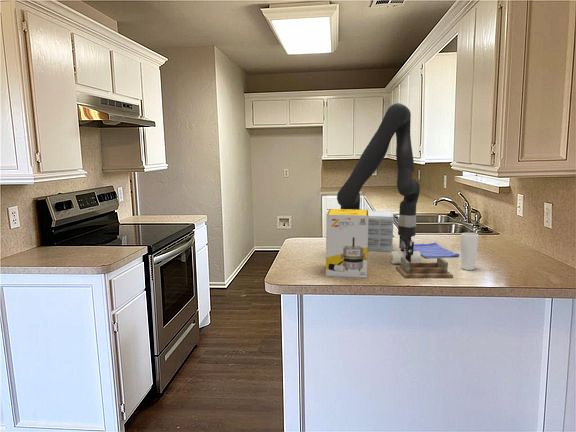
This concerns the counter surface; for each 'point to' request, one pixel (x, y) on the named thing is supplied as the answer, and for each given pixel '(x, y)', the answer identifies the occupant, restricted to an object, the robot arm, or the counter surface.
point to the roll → (398, 254)
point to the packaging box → (346, 243)
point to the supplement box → (380, 231)
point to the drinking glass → (469, 250)
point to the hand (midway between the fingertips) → (405, 261)
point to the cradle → (424, 269)
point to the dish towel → (434, 251)
